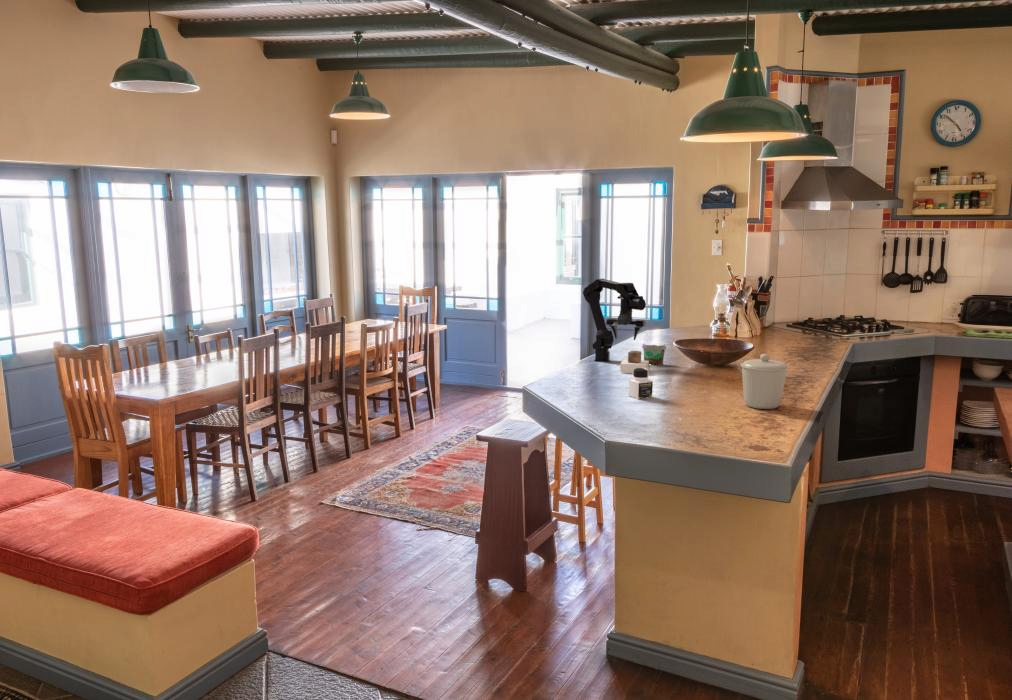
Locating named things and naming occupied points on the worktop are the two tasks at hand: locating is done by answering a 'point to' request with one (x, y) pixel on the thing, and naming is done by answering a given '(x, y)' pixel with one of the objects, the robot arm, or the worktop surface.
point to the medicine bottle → (640, 384)
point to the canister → (763, 382)
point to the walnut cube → (634, 357)
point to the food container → (654, 353)
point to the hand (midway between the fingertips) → (625, 339)
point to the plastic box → (632, 366)
